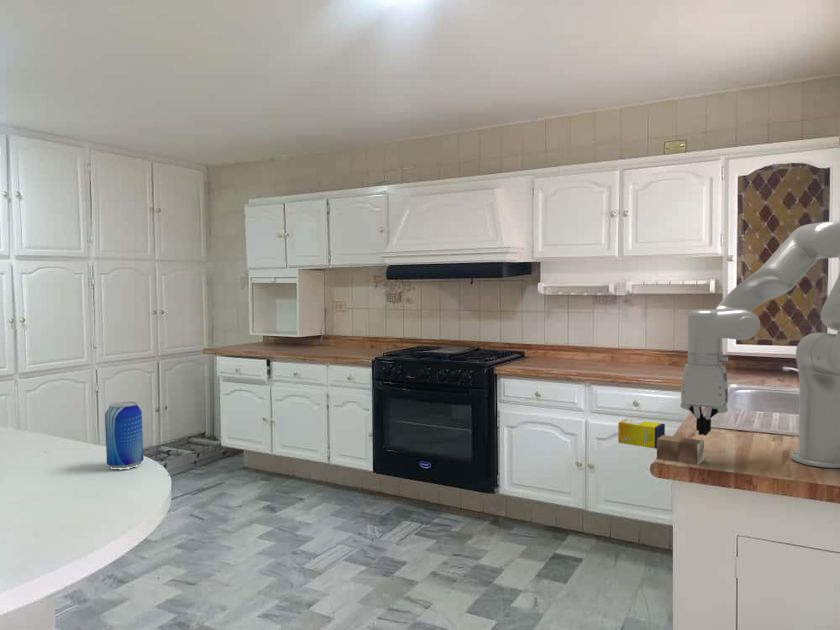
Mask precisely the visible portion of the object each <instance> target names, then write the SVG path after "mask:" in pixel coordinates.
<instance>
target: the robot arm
mask: <svg viewBox="0 0 840 630" xmlns="http://www.w3.org/2000/svg"><path fill="white" fill-rule="evenodd" d="M833 258H834V259H835V258H836V259H837V258H839V260H840V220H831V221H822V222H816V223H815V222H813V223H809V224H804V225H801V226H798V227H797V228H796V229H794V230H793V231H792V232H791V233H790V234H789V235H788V237H787V238H786V239H785V240H784V241H783V242H782V243H781V245H780V246H778V248H777V249H776V250H775V251H774V252H773V254H772V255H771V256H770V257H769V258H768V259H767V261H766V262H765V263H764V264H763V265H762V266H761V267H759V269H758V270H756V271H755V272H754V273H752V274H751V275H749V276H748V277H747V278H746V279H744V280H743V281H742V282H741V283H739V284H738V285H736V286H735V287H734V288H733V289H732V290H731V291H729V293H727V294H726V296H724V298H723V299H722V300H721V301H720V302H719V303H718V304H717V306H716V307H715V308H714V309H705V308H704V309H693V310H690V311H689V312H688V315H687V363H685V364H684V367H683V373H682V380H681V387H680V388H681V390H680V399H681V400H680V401H681V403H680V408H681V409H683V410H687V411H690V413H692V415H693V416H694V418H696V426H695V427H696V428H695V429H696V431H698V435H699V436H704V437H705V436H707V435H709V433H710V432H711V431H712V418H713V417H714V416H716V415H717V414H725V413H727V412H728V411H729V408H728V402H729V387H728V375H727V370H726V365H722V364H724V363H728V361H729V358H728V356H726V355H723V353H722V339H729V340H737V341H746V340H749V339H751V338H753V337H755V336H756V335H758V333H759V332H760V329H761V320H760V318H759V316H758V315H757V314H756V313H754V312H753V311H754V310H756V309H757V308H758V307H760V306H761V305H762V304H764V303H767V302H768V301H770V300H772V299H775V298H778V297H781V296H783V295H784V294H786V293H788V292H790V291H791V290H792V289H794V288H795V286H796V285H797V284H798V283H799V282H800V281H801V279H802V278H803V277H804V276H805V275H806V274H807V273H808V272H809V270H810V269H811V268H812V267H813V266H814V265H815V264H816V263H817V262H818V260H822V259H833ZM820 319H821V323H823V325H824V326H826V327H827V328H828V329H830V330H833V331H837V333H836V334H835V333H829V332H828V333H827V332H814V333H809V334H808V335H805V336H804V337H802V338H801V339H800V341H799V342H798V344H797V346H796V349H795V361H796V365H797V371H798V372H797V373H798V381H799V383H798V384H799V389H798V390H799V391H798V392H799V397H798V401H799V402H798V404H799V405H798V450H794V451H792V452H791V454H790V458H791V459H792V460H793V461H795V462H797V463H800V464H803V465H806V466H810V467H818V468H827V469H840V271H839V273H838V276H837V278H836V280H835V282H834V284H833V286H832V287H831V290H830V291H829V294H828V296H827V298H826V300H825V302H824V304H823V306H822V308H821V312H820ZM702 407H705V408H706V410H705V413H704V412H703V408H702ZM703 413H704V414H705V415H704V414H703Z"/></svg>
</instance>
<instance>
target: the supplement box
mask: <svg viewBox="0 0 840 630" xmlns="http://www.w3.org/2000/svg"><path fill="white" fill-rule="evenodd" d="M617 428H618V433H617V435H618V437H617V439H618V440H617V441H618V443H619V444H626V445H632V446H637V447H644V448H651V449H656V450H657V439H658V438H659V437H661V436H662V435H666V434H665V432H666V424H665V423H661V422H660V423H659V422H652V421H647V420H646V421H645V420H639V419H638V420H637V419H631V418H625V419H623V420H621V421H619V422H618V427H617Z"/></svg>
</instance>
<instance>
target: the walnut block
mask: <svg viewBox="0 0 840 630" xmlns="http://www.w3.org/2000/svg"><path fill="white" fill-rule="evenodd" d="M656 459H659V460H664V461H672V462H679V463H683V464H684V463H685V464H690V463H691V464H692V465H697V464H698V465H697V466H700V464H701V463H703V461H705V440H703V439H696V438H688V437H682V436H681V437H680V436H674V435H673V436H672V435H666V434H665V435H662V436H661V437H659V438H658V439H657V449H656ZM691 464H690V465H691Z"/></svg>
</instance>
